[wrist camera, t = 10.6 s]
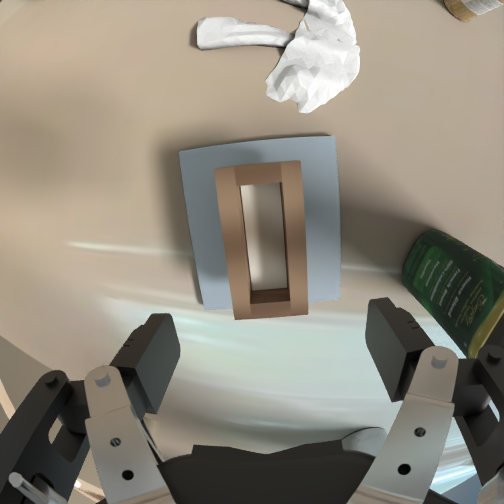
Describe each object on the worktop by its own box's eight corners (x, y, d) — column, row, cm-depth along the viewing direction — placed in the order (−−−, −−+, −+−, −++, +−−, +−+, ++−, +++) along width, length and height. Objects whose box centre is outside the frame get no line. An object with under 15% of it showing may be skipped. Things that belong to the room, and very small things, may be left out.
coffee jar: (388, 283, 28) (482, 407, 10) (421, 217, 25) (556, 296, 8) (442, 307, 29) (525, 406, 11) (472, 251, 26) (577, 327, 9)
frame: (303, 297, 25) (308, 314, 22) (238, 302, 26) (234, 319, 23) (295, 160, 21) (300, 160, 18) (220, 167, 22) (213, 169, 19)
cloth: (319, 144, 24) (325, 143, 22) (130, 54, 22) (120, 48, 19) (401, 11, 18) (410, 3, 16) (231, -64, 15) (228, -74, 13)
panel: (338, 295, 28) (345, 311, 25) (206, 306, 30) (200, 322, 26) (332, 136, 23) (342, 134, 20) (181, 151, 24) (170, 151, 21)
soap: (61, 469, 59) (58, 474, 56) (75, 477, 59) (73, 482, 56) (68, 478, 62) (66, 483, 59) (82, 485, 62) (80, 490, 59)
